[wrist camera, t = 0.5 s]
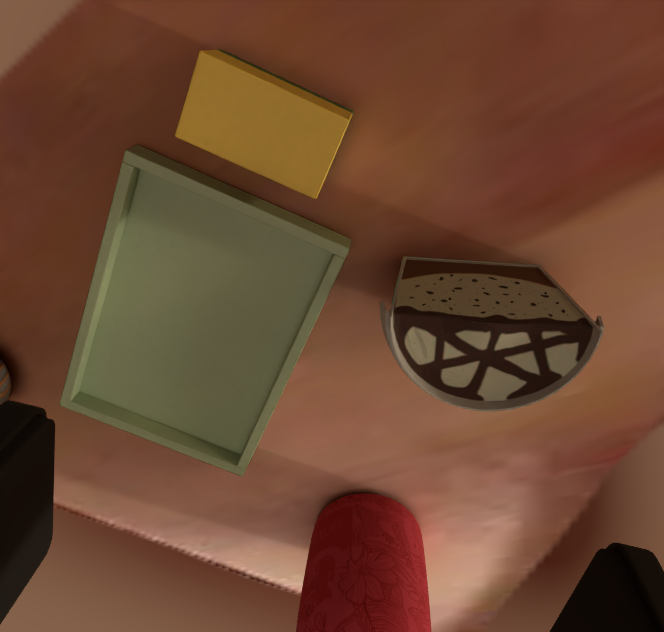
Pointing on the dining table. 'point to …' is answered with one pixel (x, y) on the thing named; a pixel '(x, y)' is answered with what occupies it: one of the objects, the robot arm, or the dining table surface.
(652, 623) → the robot arm
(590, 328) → the food container
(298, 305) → the tray
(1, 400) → the vase
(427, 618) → the wine bottle
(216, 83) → the sponge
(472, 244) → the dining table surface
